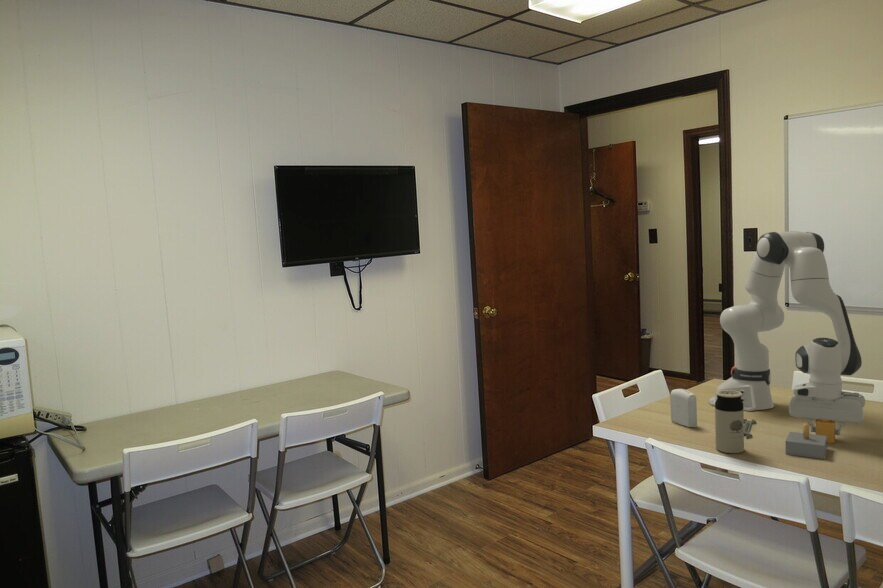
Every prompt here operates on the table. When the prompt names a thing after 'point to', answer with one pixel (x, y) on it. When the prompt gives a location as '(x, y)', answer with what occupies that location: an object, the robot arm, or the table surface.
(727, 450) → the travel mug
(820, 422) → the orange cube with knob
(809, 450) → the box
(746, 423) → the wrench
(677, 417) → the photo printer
